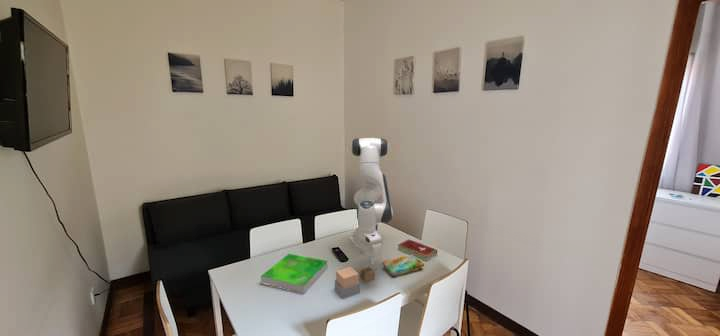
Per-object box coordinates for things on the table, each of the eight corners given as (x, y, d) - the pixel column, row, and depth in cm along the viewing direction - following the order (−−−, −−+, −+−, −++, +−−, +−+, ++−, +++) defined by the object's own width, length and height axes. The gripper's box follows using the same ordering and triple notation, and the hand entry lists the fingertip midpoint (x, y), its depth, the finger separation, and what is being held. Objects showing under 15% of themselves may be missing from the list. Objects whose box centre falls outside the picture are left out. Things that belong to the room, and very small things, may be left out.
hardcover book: (408, 244, 193) (408, 238, 192) (437, 255, 178) (437, 249, 177) (397, 250, 185) (397, 244, 184) (425, 262, 170) (426, 255, 169)
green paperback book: (261, 285, 149) (260, 276, 148) (289, 261, 172) (288, 253, 171) (304, 295, 141) (304, 285, 140) (327, 269, 164) (327, 260, 163)
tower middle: (336, 280, 144) (336, 270, 143) (350, 275, 148) (350, 266, 147) (343, 288, 137) (343, 278, 136) (358, 283, 141) (358, 273, 140)
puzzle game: (381, 260, 163) (412, 253, 171) (381, 268, 164) (412, 260, 172) (392, 270, 153) (424, 262, 160) (392, 278, 153) (424, 270, 161)
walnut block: (360, 277, 154) (359, 269, 153) (368, 274, 157) (368, 266, 156) (365, 283, 150) (365, 274, 149) (374, 279, 152) (374, 271, 151)
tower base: (334, 289, 145) (334, 280, 144) (350, 283, 149) (350, 274, 148) (343, 299, 137) (343, 289, 136) (359, 293, 142) (359, 283, 141)
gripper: (351, 228, 156) (352, 252, 158) (372, 242, 138) (372, 269, 141) (361, 225, 159) (362, 249, 161) (383, 239, 141) (383, 265, 144)
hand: (367, 258), depth 151 cm, fingers open, 8 cm apart
